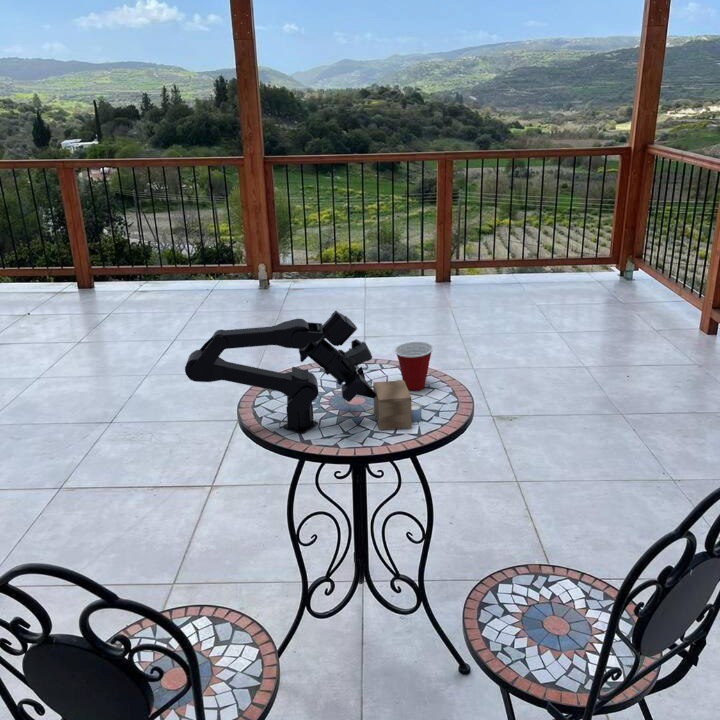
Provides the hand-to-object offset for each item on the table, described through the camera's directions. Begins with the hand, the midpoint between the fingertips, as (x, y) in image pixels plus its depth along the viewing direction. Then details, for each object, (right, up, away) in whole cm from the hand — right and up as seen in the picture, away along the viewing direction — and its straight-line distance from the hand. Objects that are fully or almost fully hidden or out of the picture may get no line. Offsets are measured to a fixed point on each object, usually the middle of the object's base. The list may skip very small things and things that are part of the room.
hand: (375, 396), depth 170 cm
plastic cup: (+11, +1, +22) cm, 25 cm away
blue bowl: (+10, -6, +3) cm, 12 cm away
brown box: (+4, -6, +3) cm, 8 cm away
